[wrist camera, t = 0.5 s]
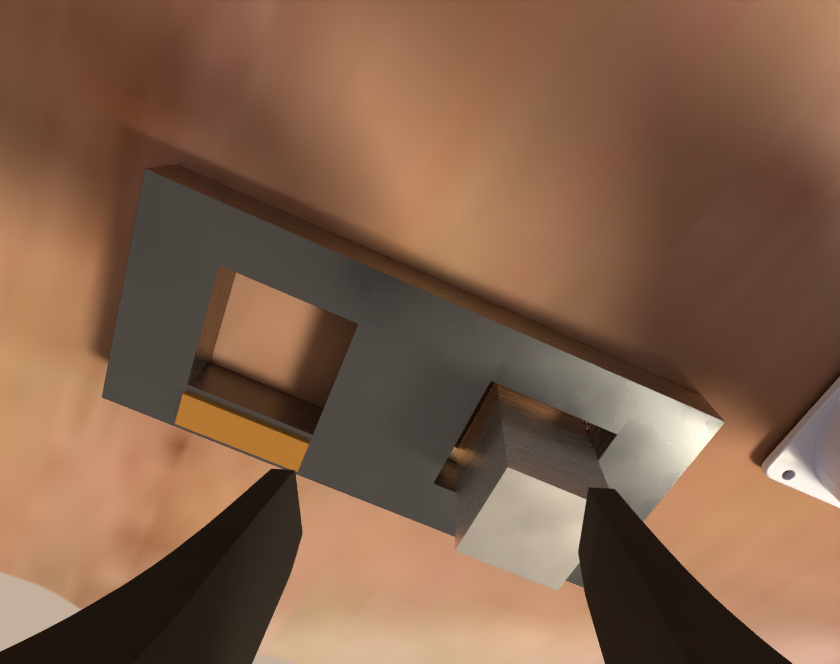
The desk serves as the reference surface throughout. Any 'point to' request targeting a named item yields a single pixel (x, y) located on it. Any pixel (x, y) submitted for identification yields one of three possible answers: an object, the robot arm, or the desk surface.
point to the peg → (524, 487)
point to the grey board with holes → (366, 360)
